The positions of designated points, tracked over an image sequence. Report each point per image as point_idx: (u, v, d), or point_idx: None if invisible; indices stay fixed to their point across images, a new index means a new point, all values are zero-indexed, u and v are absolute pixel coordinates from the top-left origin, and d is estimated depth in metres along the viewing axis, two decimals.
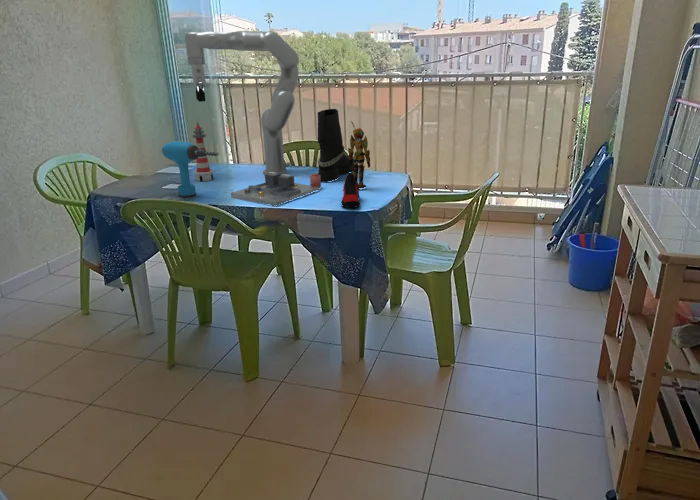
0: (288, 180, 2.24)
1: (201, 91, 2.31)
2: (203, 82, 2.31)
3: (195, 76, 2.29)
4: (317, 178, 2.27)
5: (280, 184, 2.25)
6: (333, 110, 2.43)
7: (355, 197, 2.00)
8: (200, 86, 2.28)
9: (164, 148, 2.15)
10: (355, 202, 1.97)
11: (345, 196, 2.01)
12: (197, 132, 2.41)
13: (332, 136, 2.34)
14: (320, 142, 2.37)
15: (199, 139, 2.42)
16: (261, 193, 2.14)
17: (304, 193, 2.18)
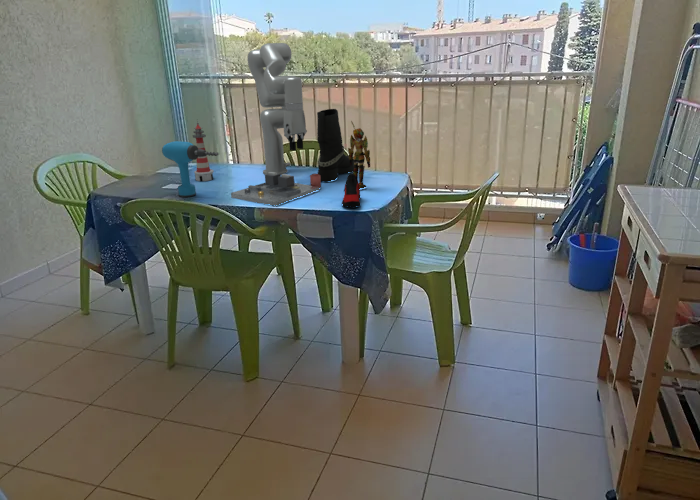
0: (288, 180, 2.24)
1: None
2: None
3: None
4: (317, 178, 2.27)
5: (280, 184, 2.25)
6: (333, 110, 2.43)
7: (356, 197, 2.00)
8: None
9: (164, 148, 2.15)
10: (355, 202, 1.97)
11: (346, 196, 2.01)
12: (197, 132, 2.41)
13: (331, 136, 2.35)
14: (320, 142, 2.37)
15: (199, 139, 2.42)
16: (261, 193, 2.14)
17: (304, 193, 2.18)
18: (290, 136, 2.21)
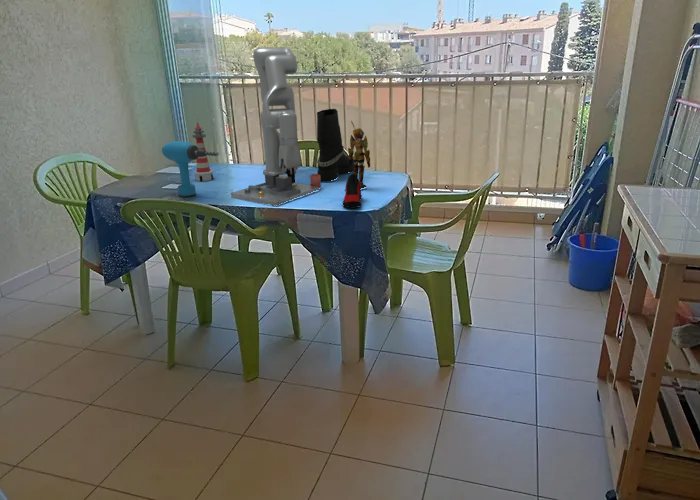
0: (286, 180, 2.22)
1: None
2: None
3: None
4: (317, 178, 2.27)
5: (278, 185, 2.24)
6: (333, 110, 2.43)
7: (356, 197, 1.99)
8: None
9: (164, 148, 2.15)
10: (356, 202, 1.97)
11: (346, 196, 2.01)
12: (197, 132, 2.41)
13: (331, 136, 2.35)
14: (319, 142, 2.37)
15: (199, 139, 2.42)
16: (261, 193, 2.14)
17: (304, 193, 2.18)
18: (288, 169, 2.24)
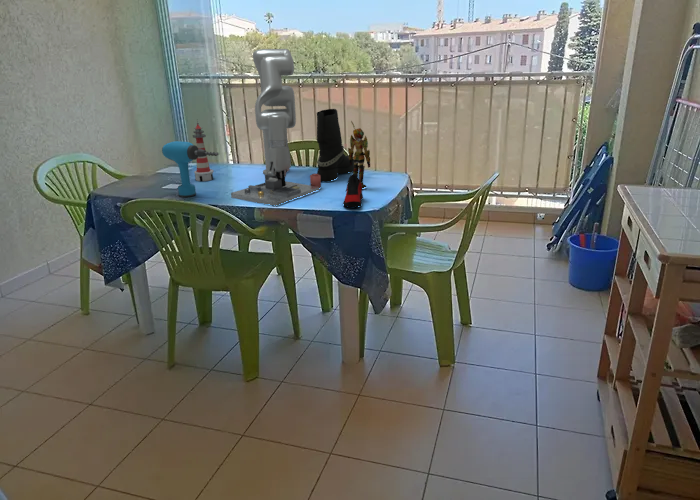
0: (276, 183, 2.17)
1: None
2: None
3: None
4: (317, 178, 2.27)
5: None
6: (333, 110, 2.43)
7: (356, 197, 1.99)
8: None
9: (164, 148, 2.15)
10: (356, 202, 1.97)
11: (347, 196, 2.01)
12: (197, 132, 2.41)
13: (331, 136, 2.35)
14: (319, 142, 2.37)
15: (199, 139, 2.42)
16: (261, 193, 2.14)
17: (304, 193, 2.18)
18: (278, 172, 2.19)
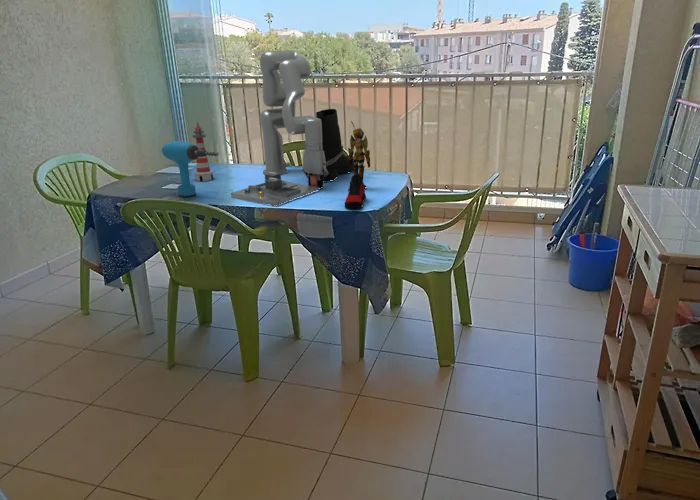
0: (276, 183, 2.17)
1: None
2: None
3: None
4: (317, 178, 2.27)
5: None
6: (332, 110, 2.44)
7: (357, 198, 1.99)
8: None
9: (164, 148, 2.15)
10: (356, 203, 1.96)
11: (348, 196, 2.01)
12: (197, 132, 2.41)
13: (330, 136, 2.35)
14: None
15: (199, 139, 2.42)
16: (261, 193, 2.14)
17: (304, 193, 2.18)
18: None
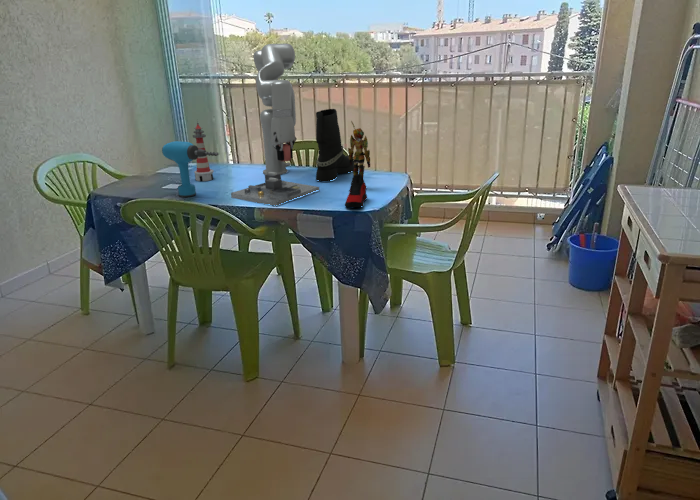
0: (276, 183, 2.17)
1: None
2: None
3: None
4: None
5: None
6: (332, 110, 2.44)
7: (358, 198, 1.99)
8: None
9: (164, 148, 2.15)
10: (357, 203, 1.96)
11: (348, 196, 2.01)
12: (197, 132, 2.41)
13: (330, 136, 2.35)
14: (318, 142, 2.37)
15: (199, 139, 2.42)
16: (261, 193, 2.14)
17: (304, 193, 2.18)
18: (277, 145, 2.04)
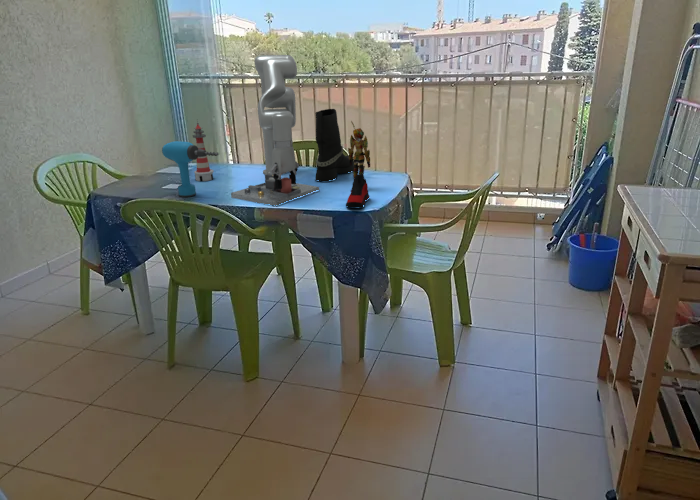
0: None
1: None
2: None
3: None
4: None
5: None
6: (332, 110, 2.44)
7: (358, 198, 1.98)
8: None
9: (164, 148, 2.15)
10: (357, 203, 1.96)
11: (349, 196, 2.01)
12: (197, 132, 2.41)
13: (330, 136, 2.35)
14: (318, 142, 2.37)
15: (199, 139, 2.42)
16: (261, 193, 2.14)
17: (304, 193, 2.18)
18: (275, 174, 2.07)
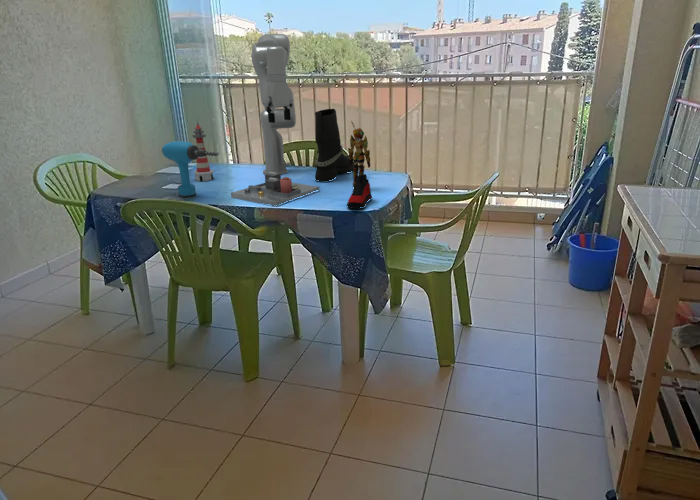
0: (276, 183, 2.17)
1: None
2: None
3: None
4: (280, 181, 2.13)
5: None
6: (332, 110, 2.44)
7: (359, 198, 1.98)
8: None
9: (164, 148, 2.15)
10: (357, 203, 1.96)
11: (350, 197, 2.00)
12: (197, 132, 2.41)
13: (329, 136, 2.35)
14: (317, 142, 2.38)
15: (199, 139, 2.42)
16: (261, 193, 2.14)
17: (304, 193, 2.18)
18: (268, 107, 2.09)
